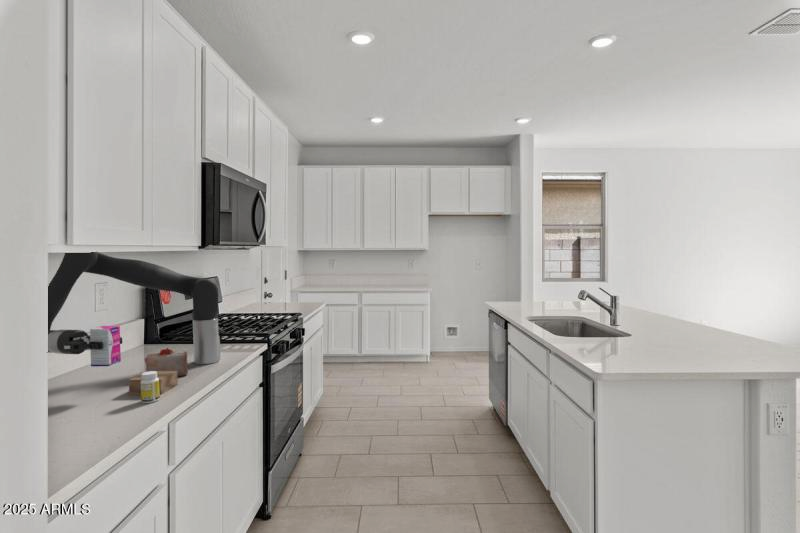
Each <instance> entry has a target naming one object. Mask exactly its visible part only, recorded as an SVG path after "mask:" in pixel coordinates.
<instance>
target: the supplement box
mask: <svg viewBox="0 0 800 533" xmlns="http://www.w3.org/2000/svg"><path fill="white" fill-rule="evenodd" d="M89 335H90V341H91V342H103V349H100V350H97V349H91V350H90V367H92V368H93V367H110V366H112V365H115V364H118V363H120V362H122V361H121V360H122V358H121V353H122V352H121V344H120V337H121V327H120V325H101V326H96V327H94V328H93V327H92V328H90V329H89Z"/></svg>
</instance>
